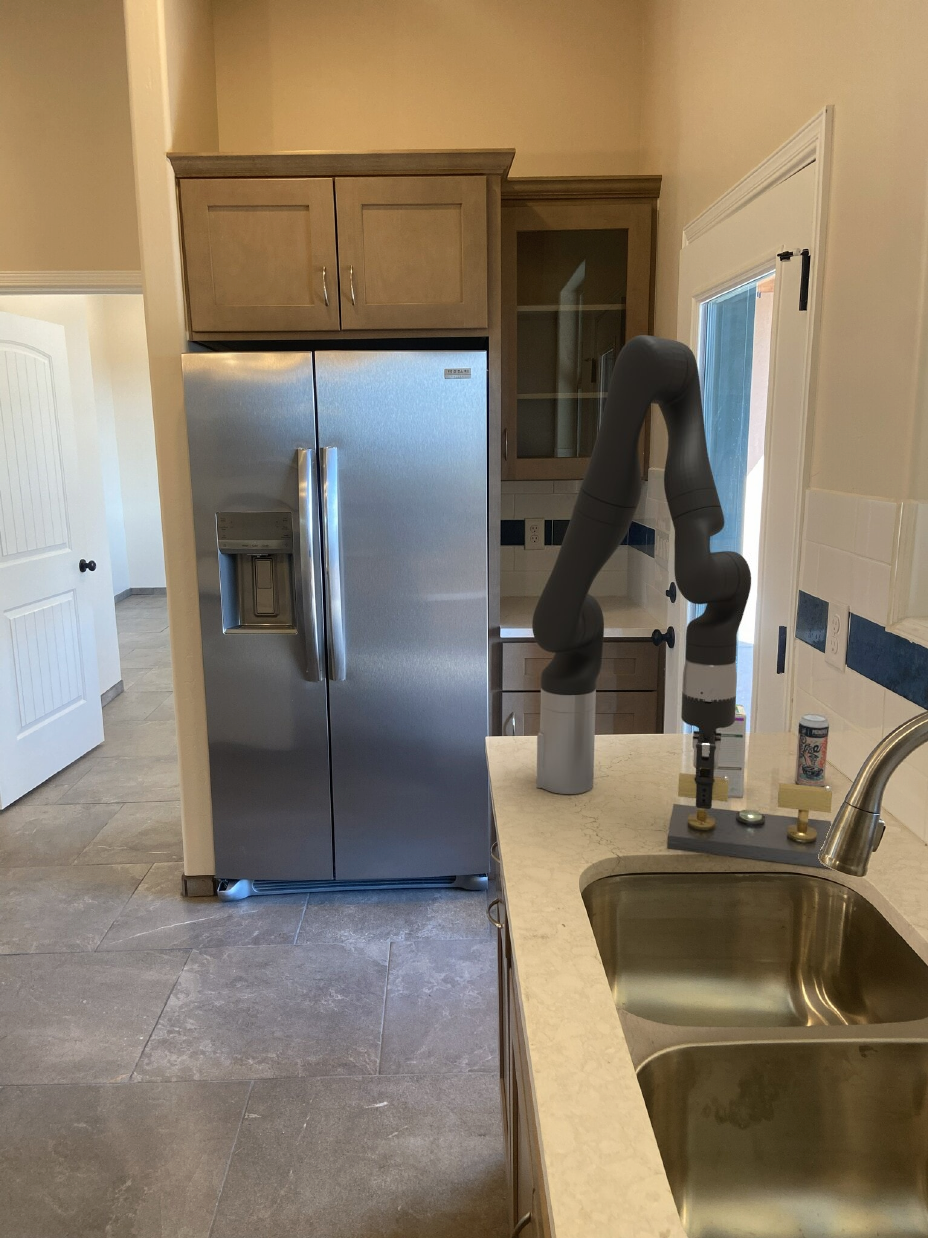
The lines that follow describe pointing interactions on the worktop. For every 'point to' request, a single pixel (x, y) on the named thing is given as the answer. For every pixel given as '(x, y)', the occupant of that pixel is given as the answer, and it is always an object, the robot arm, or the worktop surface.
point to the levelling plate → (746, 836)
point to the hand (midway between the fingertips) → (704, 796)
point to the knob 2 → (804, 807)
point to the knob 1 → (689, 790)
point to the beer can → (812, 750)
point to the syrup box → (733, 753)
